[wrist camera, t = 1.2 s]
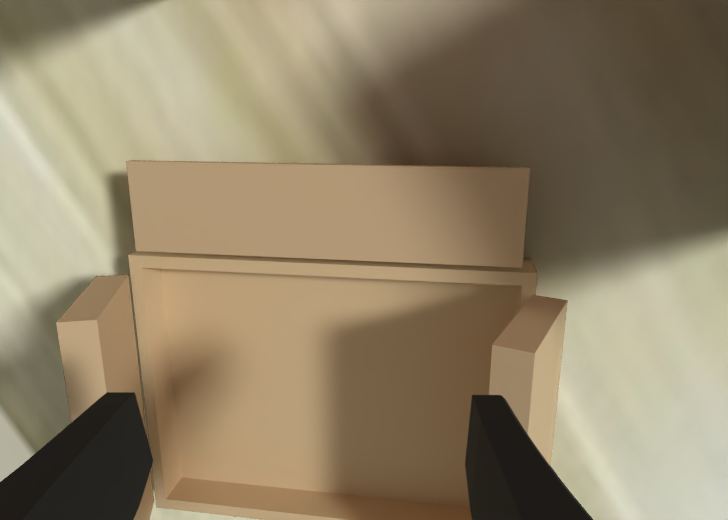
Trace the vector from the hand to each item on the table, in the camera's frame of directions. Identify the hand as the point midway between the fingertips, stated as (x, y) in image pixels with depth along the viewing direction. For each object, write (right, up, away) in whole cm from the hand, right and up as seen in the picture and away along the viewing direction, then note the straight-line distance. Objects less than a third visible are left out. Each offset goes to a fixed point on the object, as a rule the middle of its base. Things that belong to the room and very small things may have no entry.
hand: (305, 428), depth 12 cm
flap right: (+8, -3, +9) cm, 12 cm away
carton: (0, 0, +12) cm, 13 cm away
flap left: (-9, -2, +12) cm, 15 cm away
